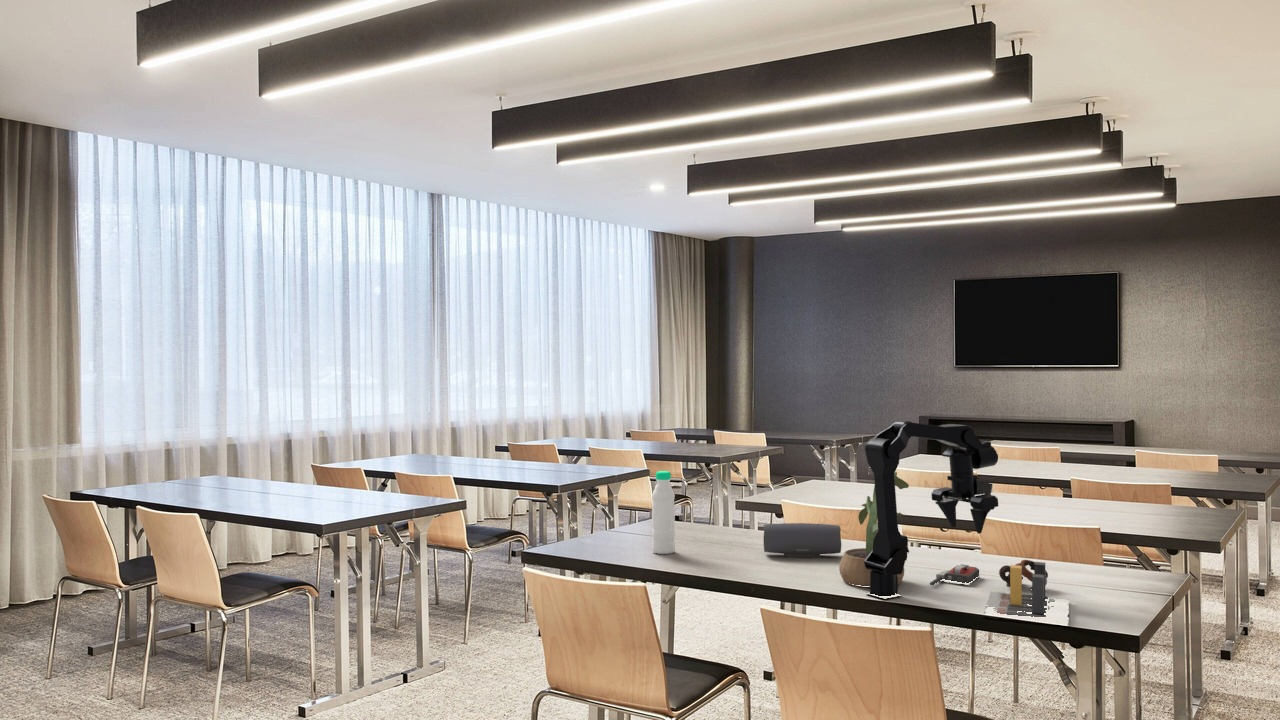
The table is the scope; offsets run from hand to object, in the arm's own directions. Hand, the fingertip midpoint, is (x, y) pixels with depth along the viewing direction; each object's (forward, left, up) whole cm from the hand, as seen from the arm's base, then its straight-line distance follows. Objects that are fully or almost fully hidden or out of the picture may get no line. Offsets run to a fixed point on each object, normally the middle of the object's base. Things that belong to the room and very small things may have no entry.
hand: (966, 530), depth 246 cm
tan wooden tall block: (-10, -22, -13) cm, 28 cm away
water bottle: (-44, +78, -15) cm, 91 cm away
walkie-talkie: (0, +4, -15) cm, 15 cm away
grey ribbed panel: (-9, -24, -14) cm, 30 cm away
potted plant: (-16, +17, -15) cm, 27 cm away
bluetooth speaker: (-12, +51, -15) cm, 54 cm away
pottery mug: (+9, -10, -15) cm, 20 cm away
